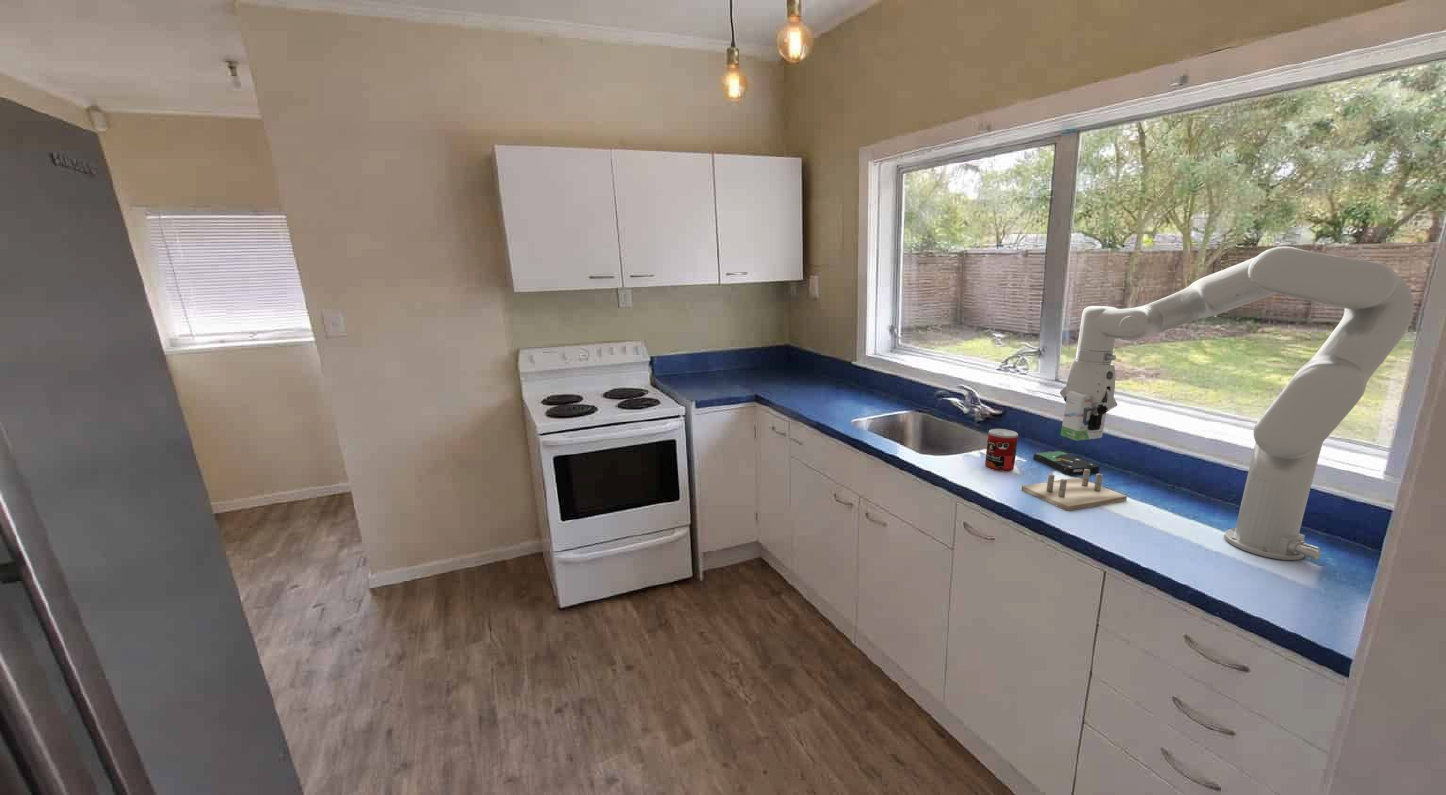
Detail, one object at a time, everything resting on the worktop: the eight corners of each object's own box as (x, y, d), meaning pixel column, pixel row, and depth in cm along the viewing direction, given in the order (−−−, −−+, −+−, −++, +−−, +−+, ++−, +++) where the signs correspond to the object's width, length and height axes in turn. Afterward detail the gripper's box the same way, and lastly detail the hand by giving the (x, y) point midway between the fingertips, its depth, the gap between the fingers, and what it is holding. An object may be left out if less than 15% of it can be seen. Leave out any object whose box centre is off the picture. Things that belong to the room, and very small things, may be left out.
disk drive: (1099, 475, 164) (1060, 458, 178) (1100, 466, 163) (1061, 449, 177) (1068, 477, 162) (1031, 460, 176) (1070, 468, 161) (1033, 451, 175)
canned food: (979, 464, 171) (982, 429, 168) (1000, 461, 173) (1004, 427, 171) (998, 473, 164) (1002, 437, 161) (1019, 470, 166) (1024, 434, 164)
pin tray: (1126, 500, 144) (1129, 479, 143) (1067, 511, 138) (1070, 489, 137) (1077, 481, 157) (1080, 462, 156) (1021, 490, 151) (1024, 470, 150)
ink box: (1085, 433, 148) (1092, 389, 145) (1103, 438, 143) (1110, 393, 140) (1059, 435, 146) (1065, 391, 143) (1076, 441, 141) (1083, 395, 138)
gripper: (1139, 361, 133) (1126, 434, 137) (1074, 351, 148) (1064, 417, 153) (1115, 362, 130) (1103, 437, 135) (1052, 352, 146) (1043, 419, 150)
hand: (1083, 425), depth 144 cm, fingers closed on ink box, 5 cm apart
